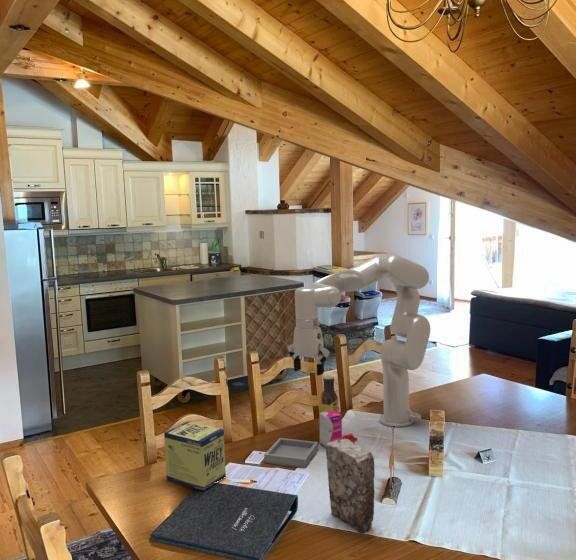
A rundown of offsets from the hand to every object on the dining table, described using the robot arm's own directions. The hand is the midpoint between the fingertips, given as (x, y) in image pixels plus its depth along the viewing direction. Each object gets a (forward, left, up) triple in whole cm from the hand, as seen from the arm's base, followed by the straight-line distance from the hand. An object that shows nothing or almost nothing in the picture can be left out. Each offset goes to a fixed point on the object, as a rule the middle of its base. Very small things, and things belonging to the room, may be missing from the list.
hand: (308, 372), depth 190 cm
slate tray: (+3, +11, -26) cm, 28 cm away
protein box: (+26, +34, -26) cm, 50 cm away
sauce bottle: (-3, -14, -26) cm, 29 cm away
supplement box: (-7, -1, -26) cm, 27 cm away
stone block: (-25, +43, -26) cm, 56 cm away
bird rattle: (-17, +13, -26) cm, 34 cm away
